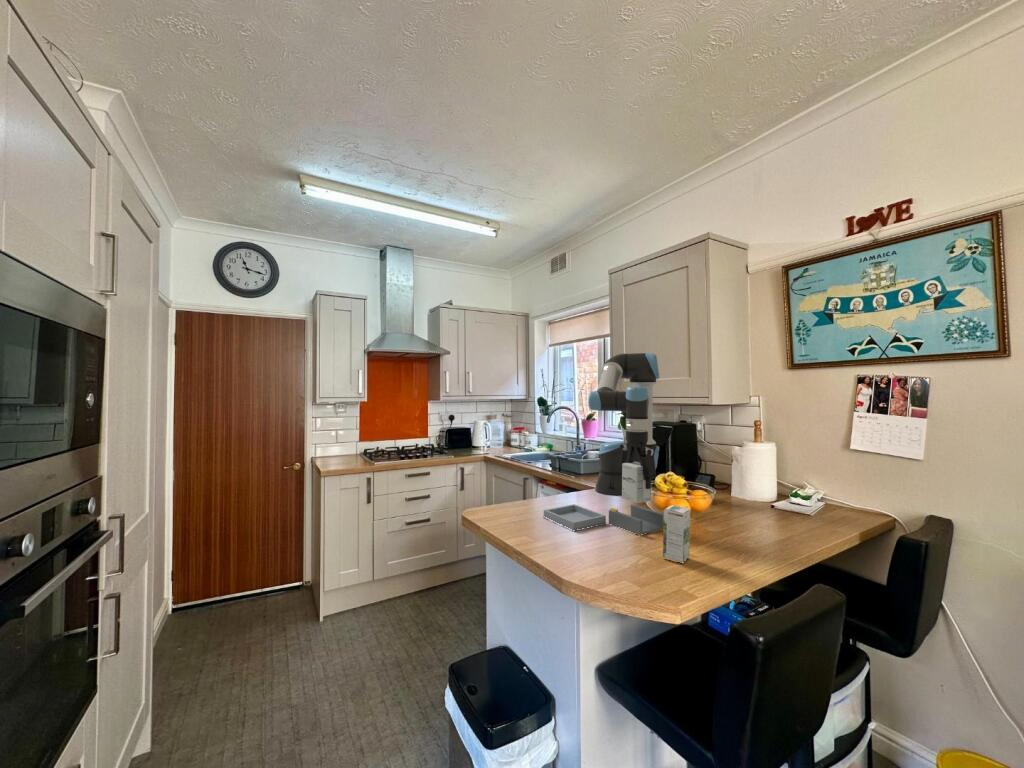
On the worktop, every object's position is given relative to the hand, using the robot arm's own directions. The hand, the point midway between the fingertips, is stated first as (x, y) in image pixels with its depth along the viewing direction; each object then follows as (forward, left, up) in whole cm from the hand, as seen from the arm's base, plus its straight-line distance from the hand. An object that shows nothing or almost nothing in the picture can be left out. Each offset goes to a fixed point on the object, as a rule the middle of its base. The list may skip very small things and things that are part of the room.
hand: (636, 494), depth 147 cm
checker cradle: (0, 0, -11) cm, 11 cm away
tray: (+15, -16, -11) cm, 25 cm away
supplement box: (0, 0, -2) cm, 2 cm away
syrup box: (+12, +25, -11) cm, 30 cm away
